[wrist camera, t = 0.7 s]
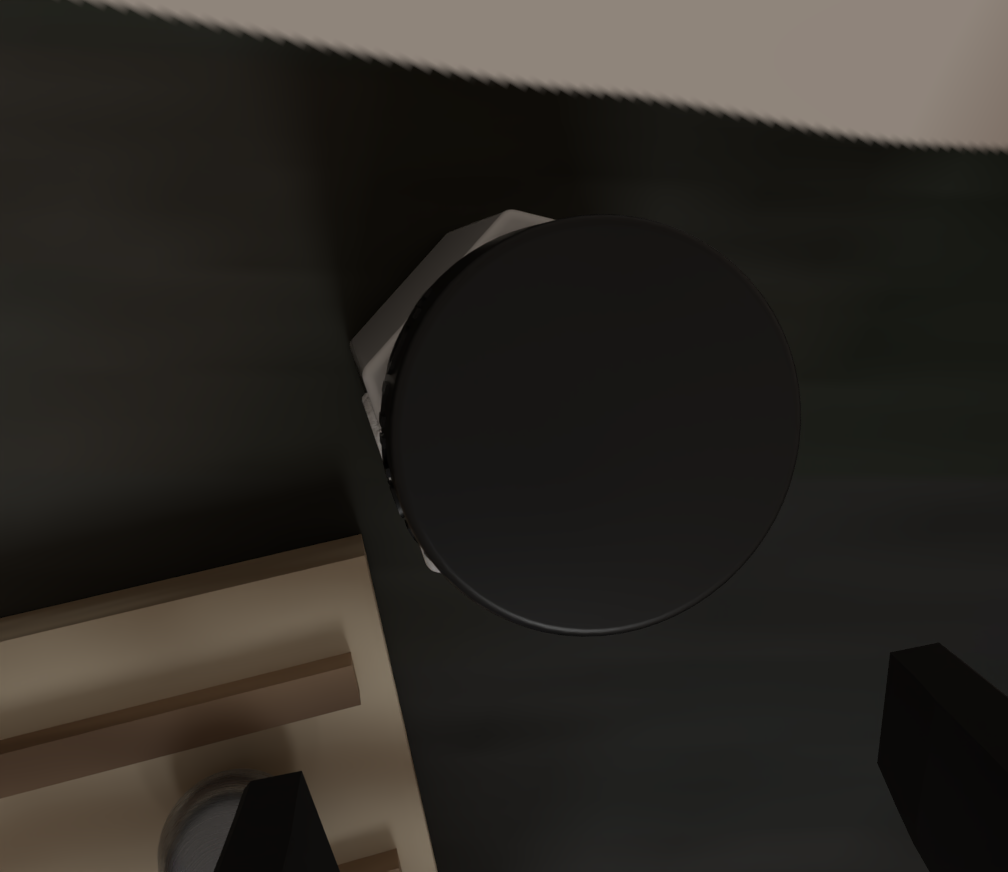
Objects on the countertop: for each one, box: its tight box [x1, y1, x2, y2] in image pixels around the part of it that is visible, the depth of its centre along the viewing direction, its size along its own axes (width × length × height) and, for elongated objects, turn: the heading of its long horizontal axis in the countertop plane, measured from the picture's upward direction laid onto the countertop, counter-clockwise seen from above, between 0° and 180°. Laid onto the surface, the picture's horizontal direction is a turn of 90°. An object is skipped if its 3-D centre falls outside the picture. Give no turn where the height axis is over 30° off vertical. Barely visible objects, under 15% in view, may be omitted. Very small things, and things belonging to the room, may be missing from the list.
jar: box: [350, 209, 801, 637], centre depth 24 cm, size 9×8×12 cm
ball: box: [157, 768, 273, 872], centre depth 26 cm, size 4×4×4 cm
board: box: [0, 534, 438, 872], centre depth 28 cm, size 13×22×3 cm, turn 101°
